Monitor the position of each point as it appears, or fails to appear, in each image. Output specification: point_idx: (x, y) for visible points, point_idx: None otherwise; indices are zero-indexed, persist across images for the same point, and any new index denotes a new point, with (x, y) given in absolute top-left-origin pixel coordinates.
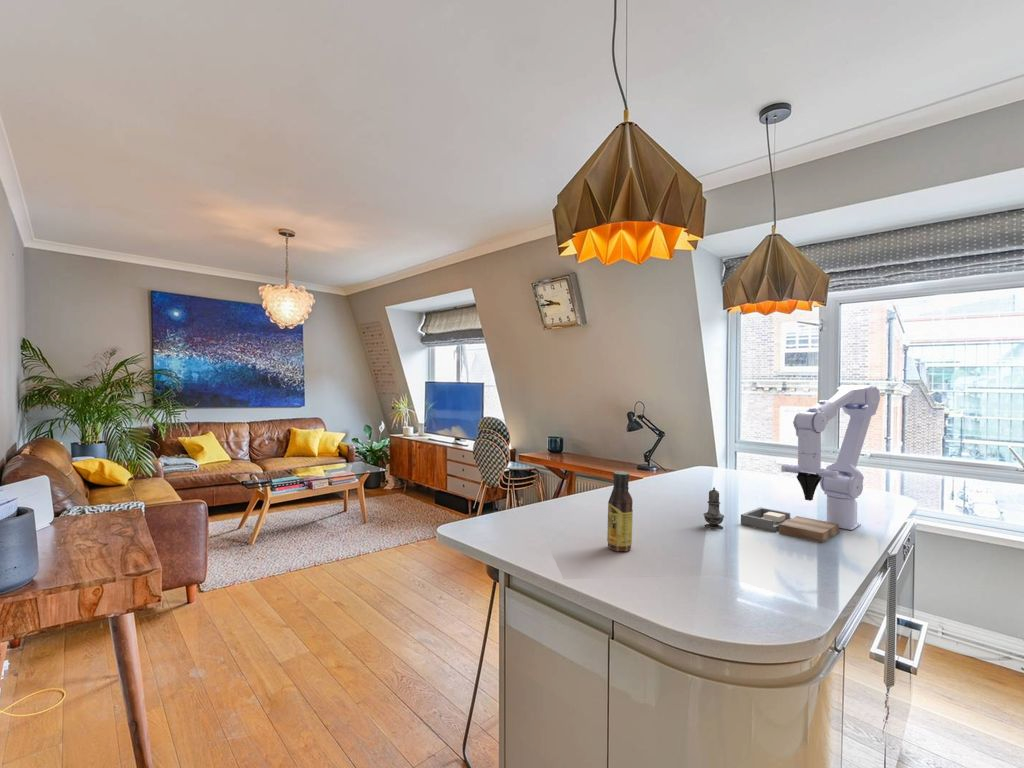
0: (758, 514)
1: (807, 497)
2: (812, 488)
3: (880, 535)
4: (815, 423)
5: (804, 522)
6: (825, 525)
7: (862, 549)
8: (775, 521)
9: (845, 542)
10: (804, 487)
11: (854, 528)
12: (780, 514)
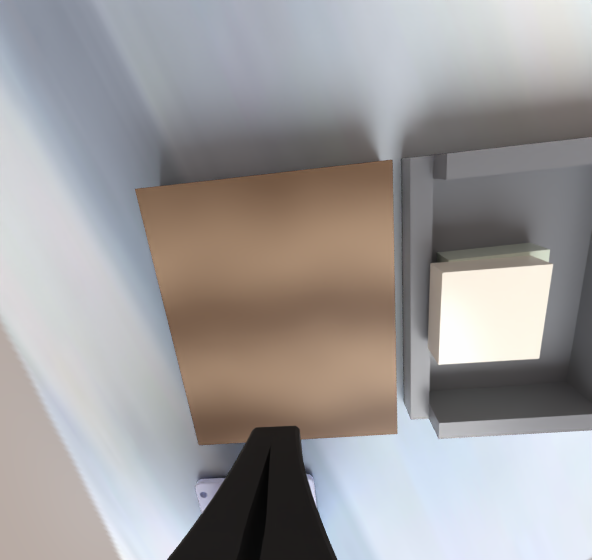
0: (590, 349)
1: (270, 443)
2: (174, 553)
3: (110, 495)
4: None
5: (312, 338)
6: (218, 369)
7: (13, 241)
8: (451, 259)
9: (112, 289)
10: (285, 544)
11: (202, 506)
12: (461, 343)
